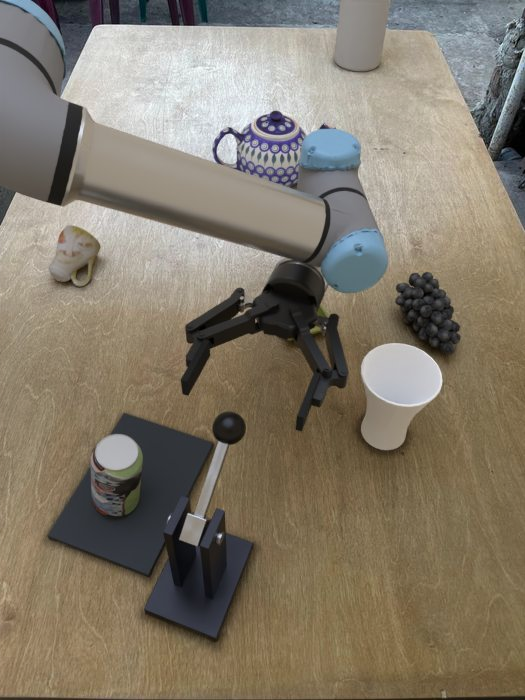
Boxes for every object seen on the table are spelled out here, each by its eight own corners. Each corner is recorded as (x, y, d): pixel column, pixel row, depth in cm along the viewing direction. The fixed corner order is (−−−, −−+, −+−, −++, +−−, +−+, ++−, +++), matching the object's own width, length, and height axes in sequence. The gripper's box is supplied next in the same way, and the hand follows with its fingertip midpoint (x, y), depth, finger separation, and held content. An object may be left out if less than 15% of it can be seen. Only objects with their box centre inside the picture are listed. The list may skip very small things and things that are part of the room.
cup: (421, 409, 93) (444, 350, 83) (417, 470, 86) (441, 414, 76) (352, 396, 94) (365, 336, 84) (342, 454, 88) (355, 396, 77)
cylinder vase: (389, 62, 168) (408, -43, 149) (360, 77, 162) (377, -30, 143) (352, 47, 174) (366, -56, 155) (324, 61, 168) (335, -44, 149)
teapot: (216, 202, 125) (214, 135, 114) (210, 161, 135) (207, 95, 123) (338, 195, 128) (347, 129, 117) (323, 155, 137) (331, 90, 126)
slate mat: (48, 538, 78) (47, 535, 78) (124, 415, 91) (123, 412, 90) (149, 577, 76) (148, 574, 75) (213, 445, 88) (213, 442, 87)
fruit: (476, 323, 92) (432, 256, 102) (424, 344, 93) (384, 276, 102) (476, 354, 99) (435, 289, 108) (427, 374, 100) (390, 307, 109)
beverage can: (90, 486, 82) (72, 436, 73) (146, 471, 84) (135, 421, 75) (97, 529, 78) (79, 482, 69) (155, 513, 80) (145, 465, 71)
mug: (39, 284, 108) (34, 226, 105) (80, 275, 116) (77, 220, 113) (70, 290, 105) (66, 230, 102) (110, 280, 113) (108, 225, 110)
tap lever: (222, 409, 69) (215, 404, 66) (252, 418, 68) (247, 415, 65) (179, 535, 67) (170, 537, 63) (210, 546, 66) (202, 549, 63)
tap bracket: (187, 523, 80) (179, 459, 68) (253, 547, 78) (256, 486, 66) (145, 613, 73) (127, 559, 61) (216, 642, 71) (212, 592, 59)
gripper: (386, 327, 83) (345, 458, 69) (211, 280, 87) (142, 393, 74) (397, 286, 77) (355, 419, 64) (210, 237, 82) (135, 352, 69)
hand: (240, 405), depth 69 cm, fingers open, 13 cm apart
